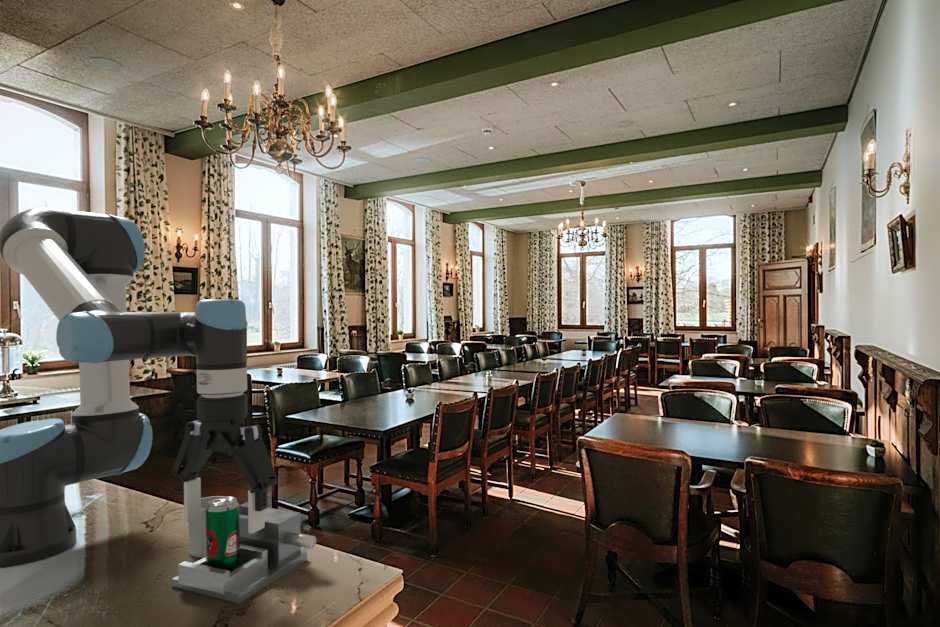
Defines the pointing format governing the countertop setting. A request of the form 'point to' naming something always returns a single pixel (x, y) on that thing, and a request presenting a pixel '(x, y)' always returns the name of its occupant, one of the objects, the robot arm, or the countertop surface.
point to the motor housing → (251, 558)
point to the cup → (199, 531)
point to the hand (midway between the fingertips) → (223, 524)
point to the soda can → (223, 533)
